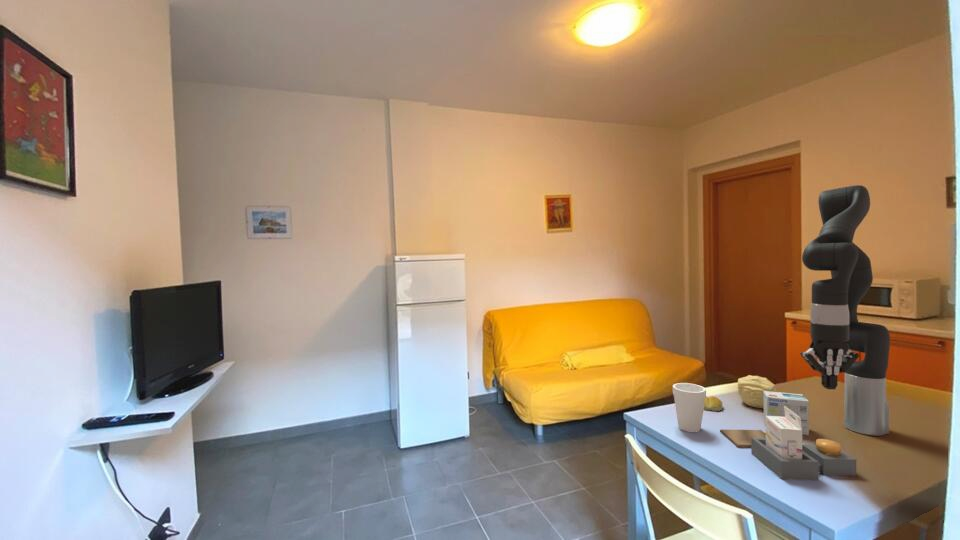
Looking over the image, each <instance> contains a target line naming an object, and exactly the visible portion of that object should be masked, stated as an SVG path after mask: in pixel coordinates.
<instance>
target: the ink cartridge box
mask: <svg viewBox="0 0 960 540" xmlns="http://www.w3.org/2000/svg"><path fill="white" fill-rule="evenodd" d="M784 413H785V417H781V416H766V426H765V433H766V447H768V448H769V449H770V450H772V451H773V452H774V453H776V454H777V455H778V456H779V457H781V458H782V459H796V460H802V445H803V435H802V424H801V418H800V417H799V416H798V415H796V414H795V413H794V412H792V411H791V410H790V409H788V408H787V407H785V406H784ZM790 414H791V415H793V417H795V419H793V418H792V417H791V416H790Z"/></svg>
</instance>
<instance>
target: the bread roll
mask: <svg viewBox="0 0 960 540" xmlns="http://www.w3.org/2000/svg"><path fill="white" fill-rule="evenodd" d="M723 409H724V408H723V401H722V400H721V399H720V398H718V397H716V396H709V397H708V396H706V398H705V403H704V410H703V411H711V410H712V411H711V412H720V410H721V411H723Z"/></svg>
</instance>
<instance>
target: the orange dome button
mask: <svg viewBox="0 0 960 540" xmlns="http://www.w3.org/2000/svg"><path fill="white" fill-rule="evenodd" d="M815 445H816V447H817V448H818V450H819V451H821V452H822V453H824V454H825V455H839V453H841V451H842V446H841V444H840V443H839V442H837V441H834V440H831V439H828V438H827V439H826V438H818V439H816V440H815Z"/></svg>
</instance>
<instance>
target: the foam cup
mask: <svg viewBox="0 0 960 540" xmlns="http://www.w3.org/2000/svg"><path fill="white" fill-rule="evenodd" d="M672 394H673V399H674V406H675V411H676V419H677V426H678V428H679V429H680V430H683V431H686V432H690V433H696V432H700V431H701V428H702V422H703V414H704V411H705V410H704V403H705V398H706V397H707V389H706V387H704V386H702V385H698V384H695V383H689V382H680V383H679V382H678V383H674V384H672Z"/></svg>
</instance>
